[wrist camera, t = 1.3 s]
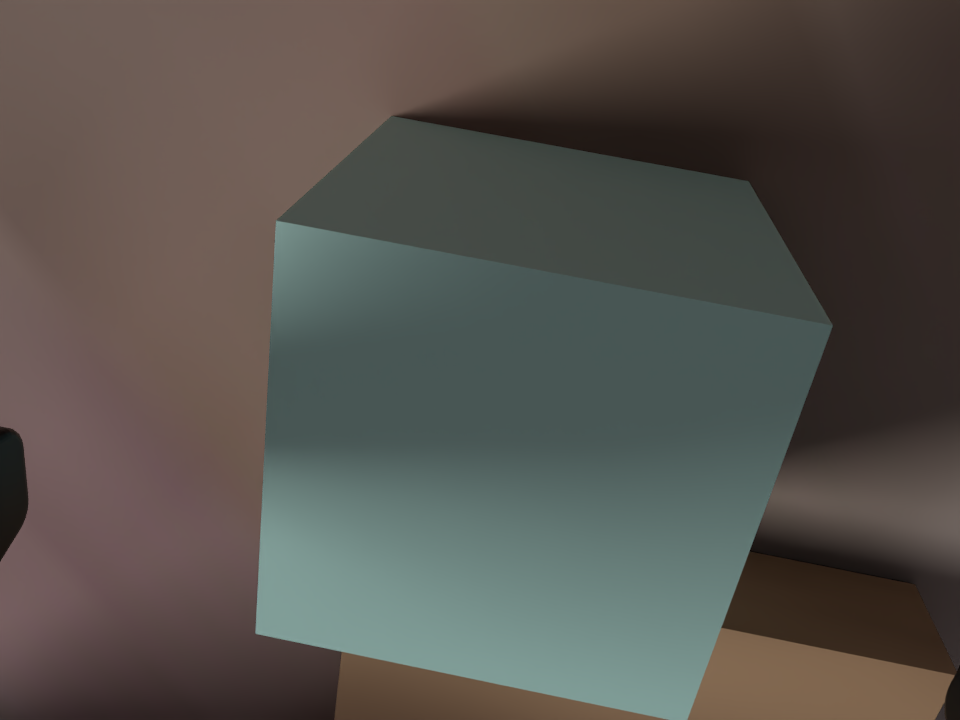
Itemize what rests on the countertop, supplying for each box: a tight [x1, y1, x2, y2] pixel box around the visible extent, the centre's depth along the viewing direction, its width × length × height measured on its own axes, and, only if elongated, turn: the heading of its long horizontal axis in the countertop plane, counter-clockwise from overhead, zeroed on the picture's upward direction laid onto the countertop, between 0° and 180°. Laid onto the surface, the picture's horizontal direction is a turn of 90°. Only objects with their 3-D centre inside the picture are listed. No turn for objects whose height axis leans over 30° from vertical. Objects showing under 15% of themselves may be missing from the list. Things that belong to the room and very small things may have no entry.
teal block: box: [256, 116, 833, 720], centre depth 11 cm, size 5×5×5 cm
